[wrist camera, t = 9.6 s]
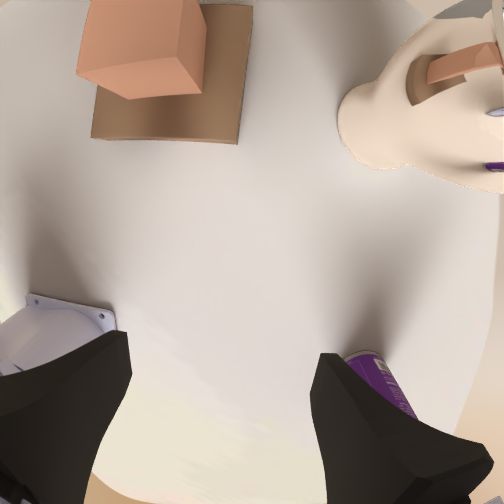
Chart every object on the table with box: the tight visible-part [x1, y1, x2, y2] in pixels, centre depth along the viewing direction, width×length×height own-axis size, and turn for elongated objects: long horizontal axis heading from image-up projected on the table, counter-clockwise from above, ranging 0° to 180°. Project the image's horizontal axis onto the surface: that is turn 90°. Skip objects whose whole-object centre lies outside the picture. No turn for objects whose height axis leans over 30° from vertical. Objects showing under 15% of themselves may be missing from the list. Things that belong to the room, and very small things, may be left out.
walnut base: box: [91, 4, 253, 145], centre depth 16 cm, size 9×9×3 cm
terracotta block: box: [76, 0, 207, 100], centre depth 11 cm, size 4×4×6 cm
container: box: [344, 351, 418, 420], centre depth 16 cm, size 5×5×15 cm
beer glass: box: [337, 0, 504, 194], centre depth 10 cm, size 7×7×15 cm
